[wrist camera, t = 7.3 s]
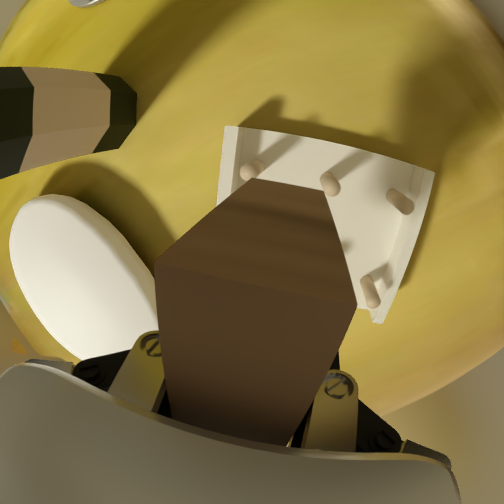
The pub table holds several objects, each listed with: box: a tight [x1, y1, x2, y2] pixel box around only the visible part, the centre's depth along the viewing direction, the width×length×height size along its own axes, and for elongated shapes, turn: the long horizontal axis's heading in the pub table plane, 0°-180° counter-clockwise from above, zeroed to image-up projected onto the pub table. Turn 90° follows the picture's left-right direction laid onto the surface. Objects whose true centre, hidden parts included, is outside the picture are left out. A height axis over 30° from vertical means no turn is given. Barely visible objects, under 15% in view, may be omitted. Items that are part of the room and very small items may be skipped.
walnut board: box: [154, 178, 358, 447], centre depth 9 cm, size 10×3×8 cm, turn 173°
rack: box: [216, 126, 435, 324], centre depth 21 cm, size 14×16×5 cm
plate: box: [9, 194, 159, 360], centre depth 30 cm, size 28×6×27 cm
